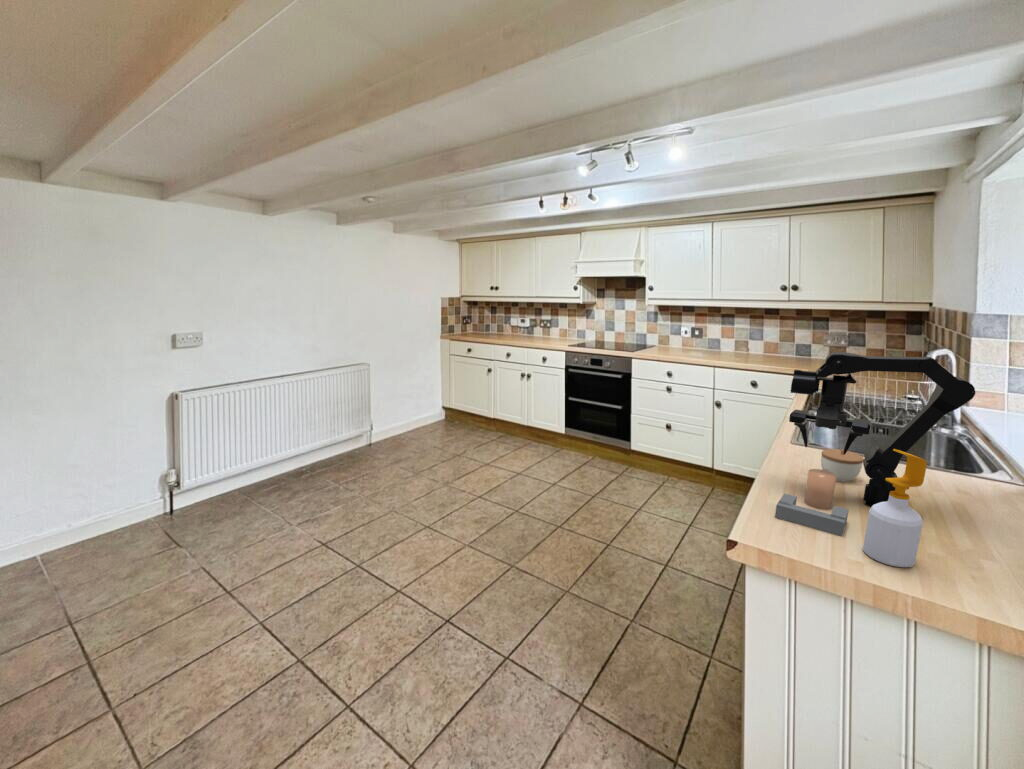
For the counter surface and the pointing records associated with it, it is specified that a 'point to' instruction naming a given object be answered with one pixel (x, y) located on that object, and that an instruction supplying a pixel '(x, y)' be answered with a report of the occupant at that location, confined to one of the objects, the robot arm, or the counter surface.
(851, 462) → the lidded jar
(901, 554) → the soap bottle
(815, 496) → the tan handled cup
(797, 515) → the cradle
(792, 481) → the counter surface
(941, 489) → the counter surface
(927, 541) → the counter surface
